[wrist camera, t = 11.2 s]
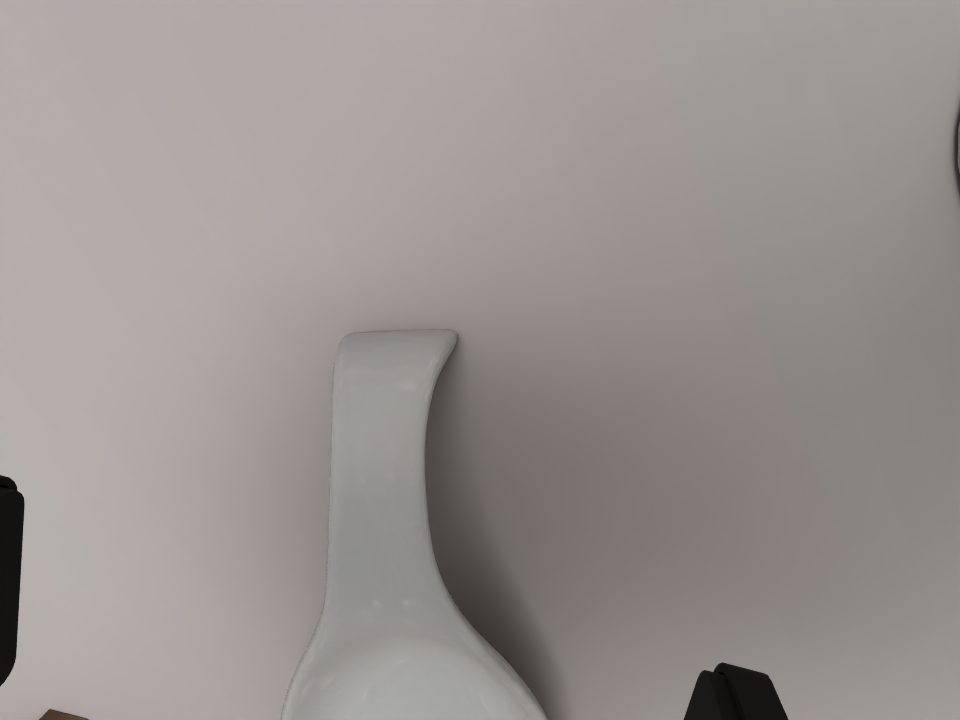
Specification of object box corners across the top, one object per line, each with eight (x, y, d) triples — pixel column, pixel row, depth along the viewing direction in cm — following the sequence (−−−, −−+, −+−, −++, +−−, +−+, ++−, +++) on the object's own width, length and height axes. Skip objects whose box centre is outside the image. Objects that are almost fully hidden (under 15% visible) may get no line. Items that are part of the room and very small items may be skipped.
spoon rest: (562, 809, 33) (568, 970, 26) (323, 806, 34) (267, 960, 27) (537, 319, 28) (536, 355, 21) (259, 335, 29) (171, 373, 22)
